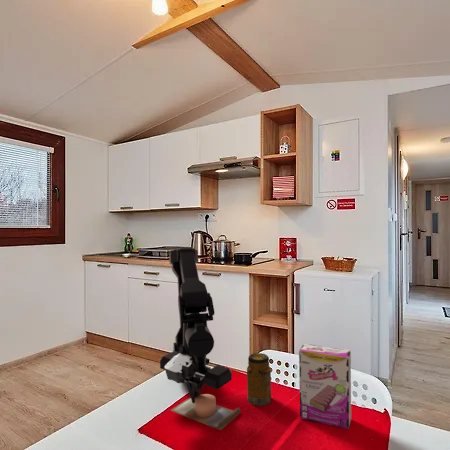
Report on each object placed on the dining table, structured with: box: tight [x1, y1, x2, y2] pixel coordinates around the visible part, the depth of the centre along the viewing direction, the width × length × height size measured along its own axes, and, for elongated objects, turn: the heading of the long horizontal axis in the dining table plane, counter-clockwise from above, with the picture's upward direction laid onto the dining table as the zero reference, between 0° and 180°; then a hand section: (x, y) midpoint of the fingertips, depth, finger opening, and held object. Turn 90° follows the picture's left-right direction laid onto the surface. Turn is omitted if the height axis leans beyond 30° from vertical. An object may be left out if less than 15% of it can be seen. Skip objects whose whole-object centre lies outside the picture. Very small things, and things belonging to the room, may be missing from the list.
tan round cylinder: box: [195, 393, 217, 417], centre depth 83 cm, size 5×5×3 cm
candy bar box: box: [298, 343, 352, 430], centre depth 80 cm, size 11×5×16 cm, turn 65°
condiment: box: [246, 352, 272, 407], centre depth 88 cm, size 7×8×12 cm
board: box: [170, 397, 241, 431], centre depth 83 cm, size 15×8×2 cm, turn 56°
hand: (194, 402), depth 85 cm, fingers closed
